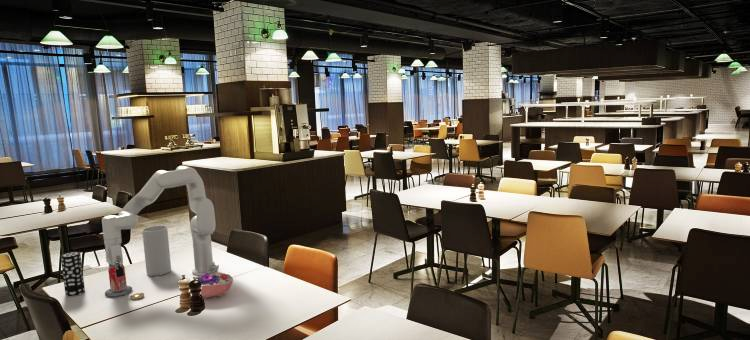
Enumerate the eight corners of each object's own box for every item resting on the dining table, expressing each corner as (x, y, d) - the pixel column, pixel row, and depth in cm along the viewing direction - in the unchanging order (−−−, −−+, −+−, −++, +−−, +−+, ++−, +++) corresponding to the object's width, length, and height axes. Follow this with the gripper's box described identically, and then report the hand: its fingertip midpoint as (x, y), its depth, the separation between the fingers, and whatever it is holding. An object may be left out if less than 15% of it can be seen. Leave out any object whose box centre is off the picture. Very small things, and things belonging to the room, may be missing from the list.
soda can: (130, 287, 242) (127, 262, 240) (121, 292, 235) (118, 267, 233) (116, 287, 242) (113, 262, 240) (107, 292, 235) (104, 267, 233)
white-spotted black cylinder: (61, 294, 238) (56, 255, 235) (78, 288, 245) (74, 251, 242) (71, 297, 234) (66, 258, 231) (88, 291, 241) (83, 253, 238)
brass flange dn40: (147, 295, 233) (146, 293, 233) (138, 300, 228) (138, 298, 227) (136, 294, 235) (136, 292, 235) (127, 299, 229) (127, 297, 229)
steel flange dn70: (137, 288, 243) (137, 285, 242) (120, 298, 231) (119, 295, 231) (117, 287, 245) (117, 284, 245) (99, 296, 234) (98, 293, 234)
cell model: (223, 304, 220) (221, 280, 219) (184, 301, 224) (182, 278, 223) (240, 289, 237) (239, 267, 235) (204, 288, 241) (202, 266, 239)
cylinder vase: (146, 270, 269) (142, 227, 265) (170, 267, 274) (166, 224, 271) (146, 277, 258) (141, 232, 254) (171, 273, 263) (167, 229, 259)
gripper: (98, 239, 238) (102, 272, 240) (110, 245, 226) (114, 280, 228) (114, 236, 243) (118, 268, 245) (127, 242, 231) (131, 276, 234)
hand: (116, 274), depth 237 cm, fingers open, 9 cm apart
